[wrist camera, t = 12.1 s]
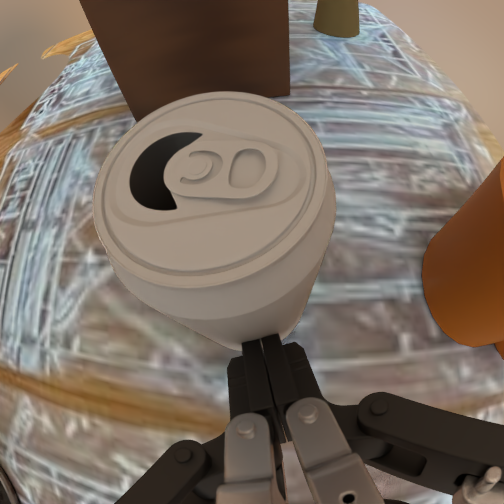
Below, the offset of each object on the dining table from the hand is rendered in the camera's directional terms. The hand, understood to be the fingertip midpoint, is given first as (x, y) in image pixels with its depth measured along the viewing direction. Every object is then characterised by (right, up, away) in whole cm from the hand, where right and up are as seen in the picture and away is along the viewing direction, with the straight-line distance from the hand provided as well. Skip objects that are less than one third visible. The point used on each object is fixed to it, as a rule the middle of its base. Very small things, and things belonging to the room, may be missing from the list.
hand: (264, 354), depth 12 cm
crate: (-5, +22, +15) cm, 27 cm away
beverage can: (-1, +1, +6) cm, 6 cm away
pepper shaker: (+10, +33, +18) cm, 39 cm away
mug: (+15, 0, +4) cm, 15 cm away
